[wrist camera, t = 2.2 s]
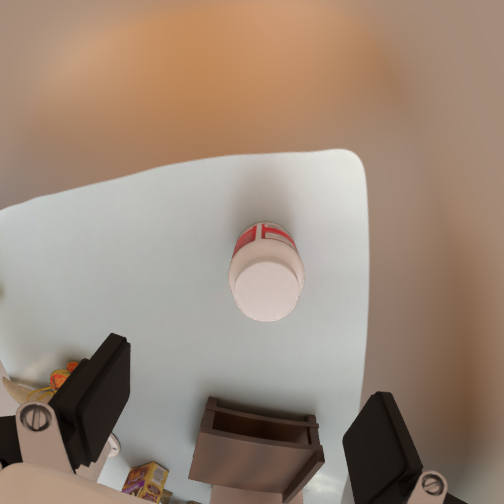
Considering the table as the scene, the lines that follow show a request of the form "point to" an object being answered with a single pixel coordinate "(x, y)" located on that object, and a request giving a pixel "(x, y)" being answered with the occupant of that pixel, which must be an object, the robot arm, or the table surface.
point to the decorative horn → (23, 392)
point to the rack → (256, 452)
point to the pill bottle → (266, 272)
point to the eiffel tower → (166, 496)
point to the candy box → (146, 482)
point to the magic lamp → (56, 380)
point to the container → (248, 496)
